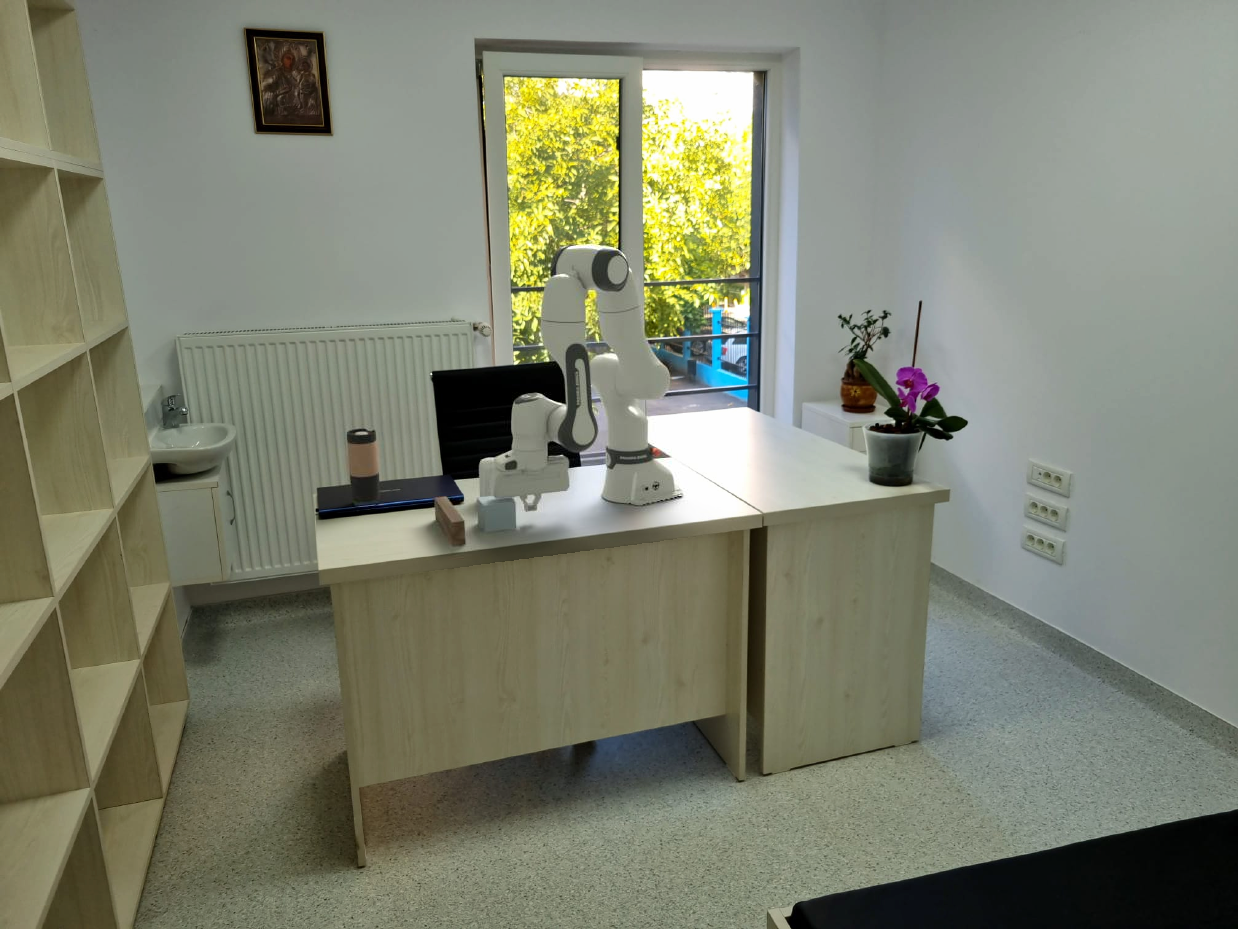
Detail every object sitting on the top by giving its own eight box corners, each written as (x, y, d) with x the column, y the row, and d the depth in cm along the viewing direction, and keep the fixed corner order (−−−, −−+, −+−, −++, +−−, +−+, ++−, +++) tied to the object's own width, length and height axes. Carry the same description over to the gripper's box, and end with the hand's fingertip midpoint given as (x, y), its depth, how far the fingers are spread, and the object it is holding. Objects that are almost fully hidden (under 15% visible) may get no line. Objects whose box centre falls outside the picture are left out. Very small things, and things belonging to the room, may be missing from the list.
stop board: (447, 518, 242) (446, 496, 241) (465, 544, 225) (464, 520, 223) (435, 519, 241) (434, 497, 240) (453, 546, 224) (452, 522, 222)
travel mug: (353, 509, 249) (347, 436, 243) (350, 501, 256) (344, 429, 250) (383, 506, 252) (378, 433, 246) (378, 497, 258) (373, 427, 253)
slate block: (508, 519, 242) (507, 493, 240) (516, 528, 236) (515, 501, 234) (478, 523, 239) (477, 497, 237) (485, 532, 233) (484, 505, 231)
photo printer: (516, 503, 254) (515, 459, 251) (506, 507, 251) (505, 463, 247) (488, 496, 260) (486, 453, 256) (477, 501, 256) (475, 457, 253)
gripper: (564, 451, 242) (564, 502, 246) (487, 459, 235) (489, 511, 239) (573, 457, 237) (573, 509, 241) (494, 465, 229) (495, 519, 233)
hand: (530, 510), depth 240 cm, fingers closed
